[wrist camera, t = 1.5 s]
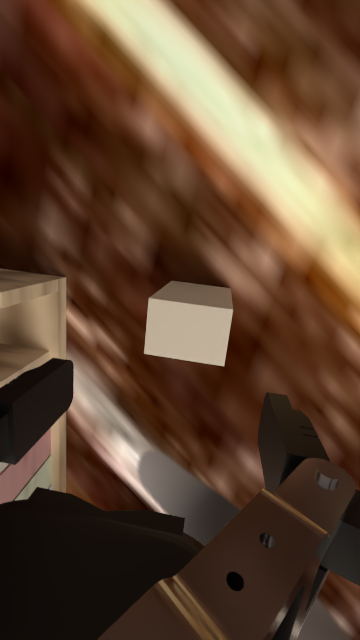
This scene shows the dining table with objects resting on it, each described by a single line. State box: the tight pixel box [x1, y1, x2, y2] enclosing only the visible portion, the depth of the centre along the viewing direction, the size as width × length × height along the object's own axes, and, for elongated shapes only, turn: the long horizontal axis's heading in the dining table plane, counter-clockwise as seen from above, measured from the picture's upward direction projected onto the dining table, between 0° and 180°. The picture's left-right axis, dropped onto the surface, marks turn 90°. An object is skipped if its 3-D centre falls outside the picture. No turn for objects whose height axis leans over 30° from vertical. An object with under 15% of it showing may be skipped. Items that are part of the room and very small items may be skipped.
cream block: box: [144, 281, 233, 366], centre depth 24 cm, size 4×6×9 cm
